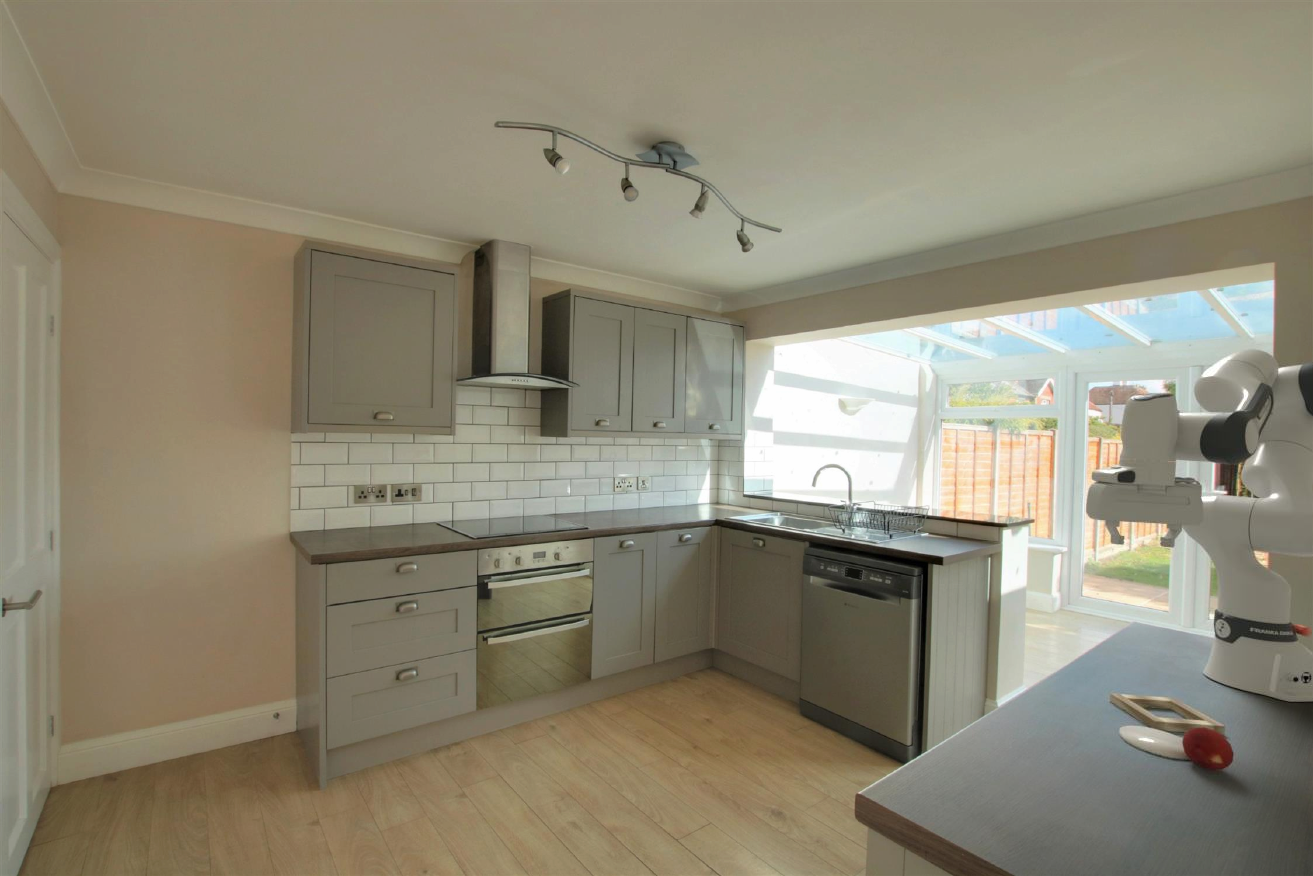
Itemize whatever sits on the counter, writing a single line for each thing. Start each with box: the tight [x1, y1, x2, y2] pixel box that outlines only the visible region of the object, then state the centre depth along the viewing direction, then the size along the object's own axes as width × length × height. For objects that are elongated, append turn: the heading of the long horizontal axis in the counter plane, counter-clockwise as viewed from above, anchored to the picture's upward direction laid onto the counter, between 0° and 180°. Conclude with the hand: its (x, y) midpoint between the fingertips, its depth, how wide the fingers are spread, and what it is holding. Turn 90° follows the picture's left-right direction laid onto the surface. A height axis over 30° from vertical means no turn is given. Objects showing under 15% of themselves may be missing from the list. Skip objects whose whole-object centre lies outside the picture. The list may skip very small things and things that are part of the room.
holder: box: [1109, 693, 1226, 736], centre depth 114 cm, size 12×12×2 cm
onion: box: [1182, 727, 1235, 771], centre depth 96 cm, size 6×6×8 cm
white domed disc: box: [1118, 725, 1190, 761], centre depth 104 cm, size 10×10×1 cm
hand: (1142, 545), depth 125 cm, fingers open, 8 cm apart
